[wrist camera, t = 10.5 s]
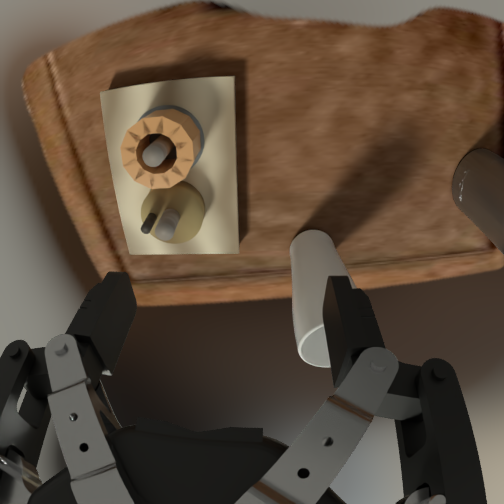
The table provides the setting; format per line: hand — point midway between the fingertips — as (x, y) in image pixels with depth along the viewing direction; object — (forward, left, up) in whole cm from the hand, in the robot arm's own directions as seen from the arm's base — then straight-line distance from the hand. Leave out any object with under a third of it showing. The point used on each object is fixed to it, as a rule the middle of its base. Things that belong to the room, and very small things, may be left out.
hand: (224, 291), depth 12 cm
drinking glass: (-8, +12, -22) cm, 27 cm away
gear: (+7, -1, -20) cm, 21 cm away
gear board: (+7, +2, -22) cm, 23 cm away
